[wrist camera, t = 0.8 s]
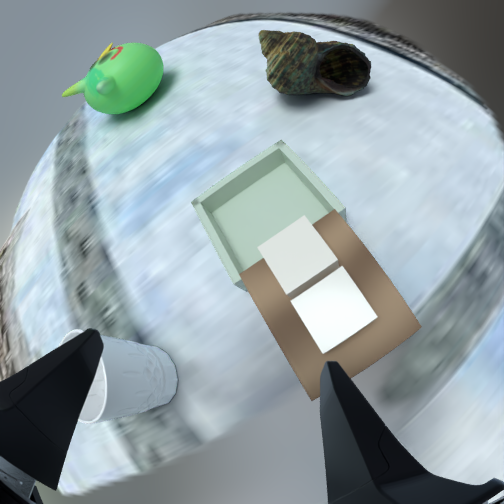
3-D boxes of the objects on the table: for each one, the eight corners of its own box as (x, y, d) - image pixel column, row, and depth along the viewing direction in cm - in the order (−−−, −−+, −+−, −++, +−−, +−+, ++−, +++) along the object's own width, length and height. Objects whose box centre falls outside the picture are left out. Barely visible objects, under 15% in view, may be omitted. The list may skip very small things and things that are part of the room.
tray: (346, 223, 24) (345, 207, 21) (246, 291, 25) (233, 284, 22) (288, 157, 28) (281, 139, 26) (205, 214, 29) (191, 202, 27)
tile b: (339, 267, 19) (337, 259, 17) (292, 299, 19) (286, 294, 17) (308, 226, 21) (304, 215, 19) (265, 256, 21) (257, 247, 19)
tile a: (374, 319, 17) (377, 317, 15) (325, 353, 17) (322, 353, 15) (343, 273, 19) (342, 265, 17) (296, 305, 19) (290, 301, 17)
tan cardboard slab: (409, 330, 19) (421, 327, 15) (318, 391, 20) (311, 401, 16) (337, 229, 24) (334, 208, 20) (255, 285, 25) (238, 274, 21)
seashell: (331, 133, 28) (315, 60, 19) (262, 103, 33) (234, 45, 24) (377, 88, 28) (371, 24, 19) (309, 65, 33) (292, 11, 24)
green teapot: (190, 68, 44) (153, 16, 31) (143, 129, 41) (90, 75, 28) (136, 81, 52) (102, 42, 39) (96, 134, 49) (53, 96, 36)
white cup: (166, 328, 27) (91, 313, 18) (195, 399, 23) (120, 414, 14) (119, 355, 28) (49, 348, 19) (142, 418, 24) (70, 429, 15)
